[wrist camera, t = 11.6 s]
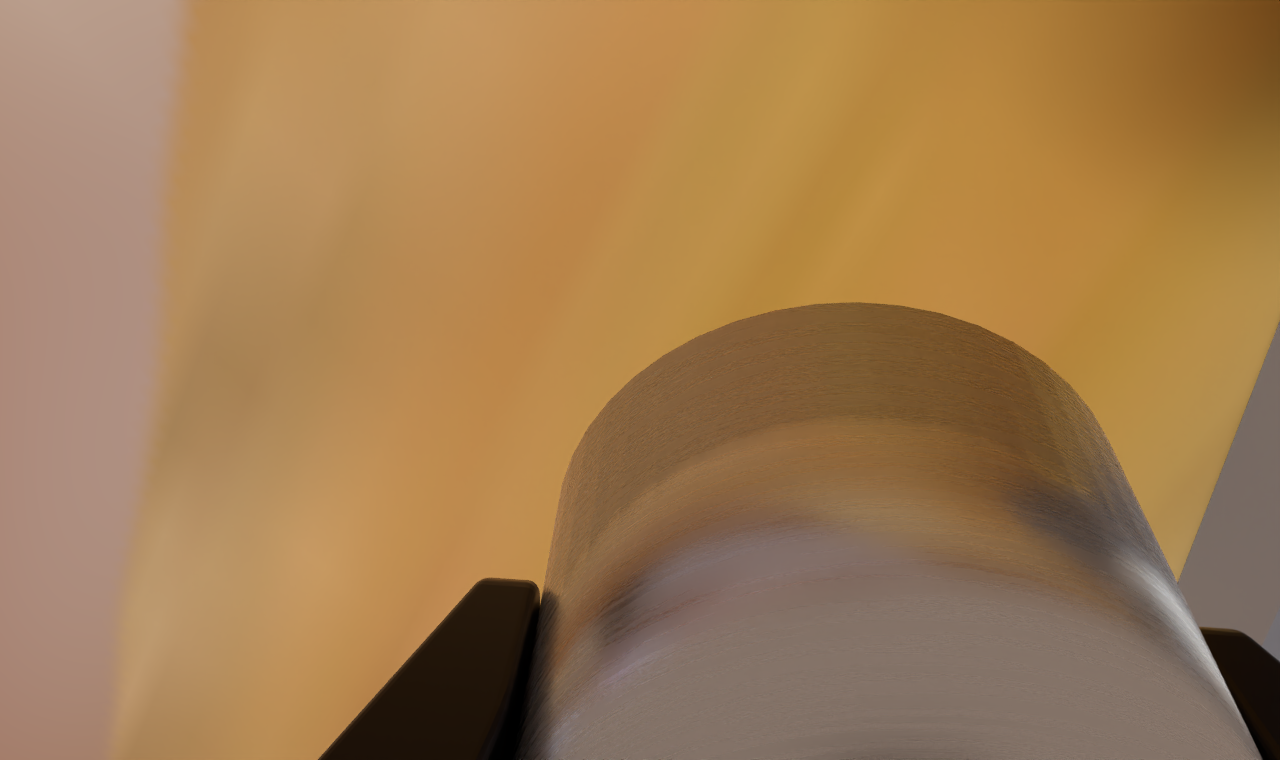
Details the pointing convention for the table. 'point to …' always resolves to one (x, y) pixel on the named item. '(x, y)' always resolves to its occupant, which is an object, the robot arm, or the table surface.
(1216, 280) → the table surface
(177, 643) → the table surface
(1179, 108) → the table surface
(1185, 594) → the scale
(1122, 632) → the cylinder
